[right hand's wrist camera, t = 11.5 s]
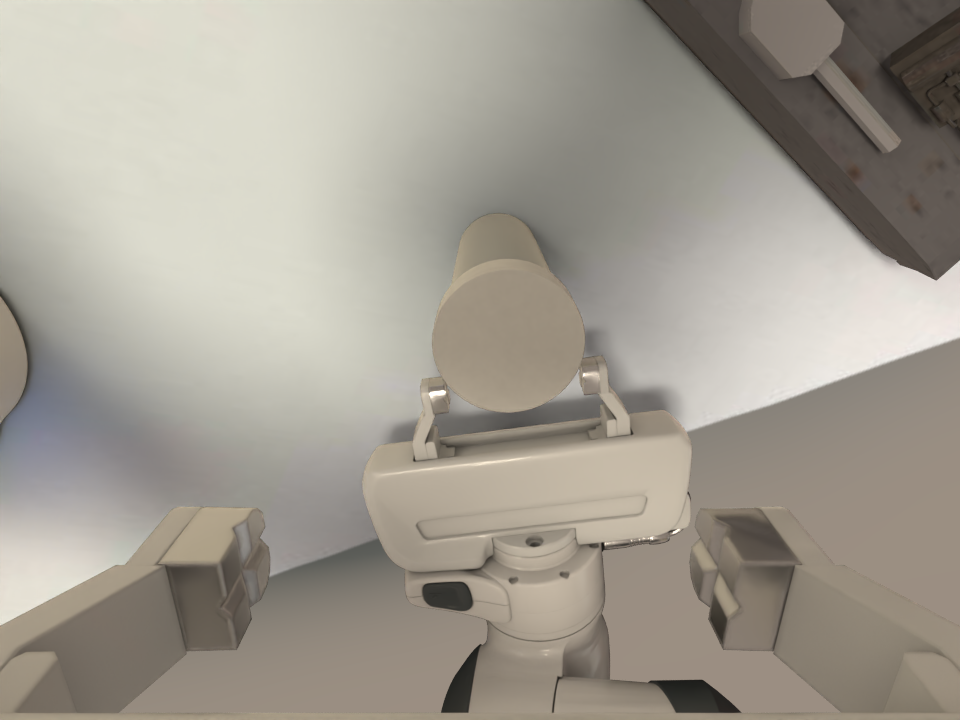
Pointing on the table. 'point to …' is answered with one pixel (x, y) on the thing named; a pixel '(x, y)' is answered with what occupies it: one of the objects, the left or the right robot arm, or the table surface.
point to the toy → (851, 104)
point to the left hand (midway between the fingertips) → (511, 370)
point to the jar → (496, 243)
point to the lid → (508, 336)
